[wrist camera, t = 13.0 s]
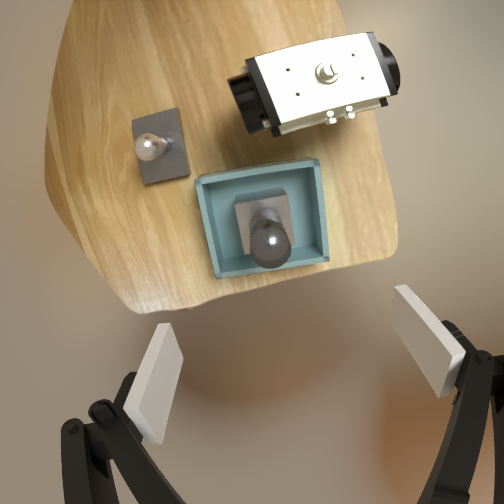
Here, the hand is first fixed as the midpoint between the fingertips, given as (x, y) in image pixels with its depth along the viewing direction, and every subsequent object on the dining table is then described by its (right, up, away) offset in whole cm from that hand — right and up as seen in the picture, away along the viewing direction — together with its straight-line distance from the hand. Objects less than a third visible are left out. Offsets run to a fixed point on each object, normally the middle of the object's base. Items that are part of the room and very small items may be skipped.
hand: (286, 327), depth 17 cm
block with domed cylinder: (0, +10, +28) cm, 29 cm away
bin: (0, +10, +28) cm, 30 cm away
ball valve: (+5, +26, +23) cm, 35 cm away
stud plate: (-15, +20, +25) cm, 35 cm away
